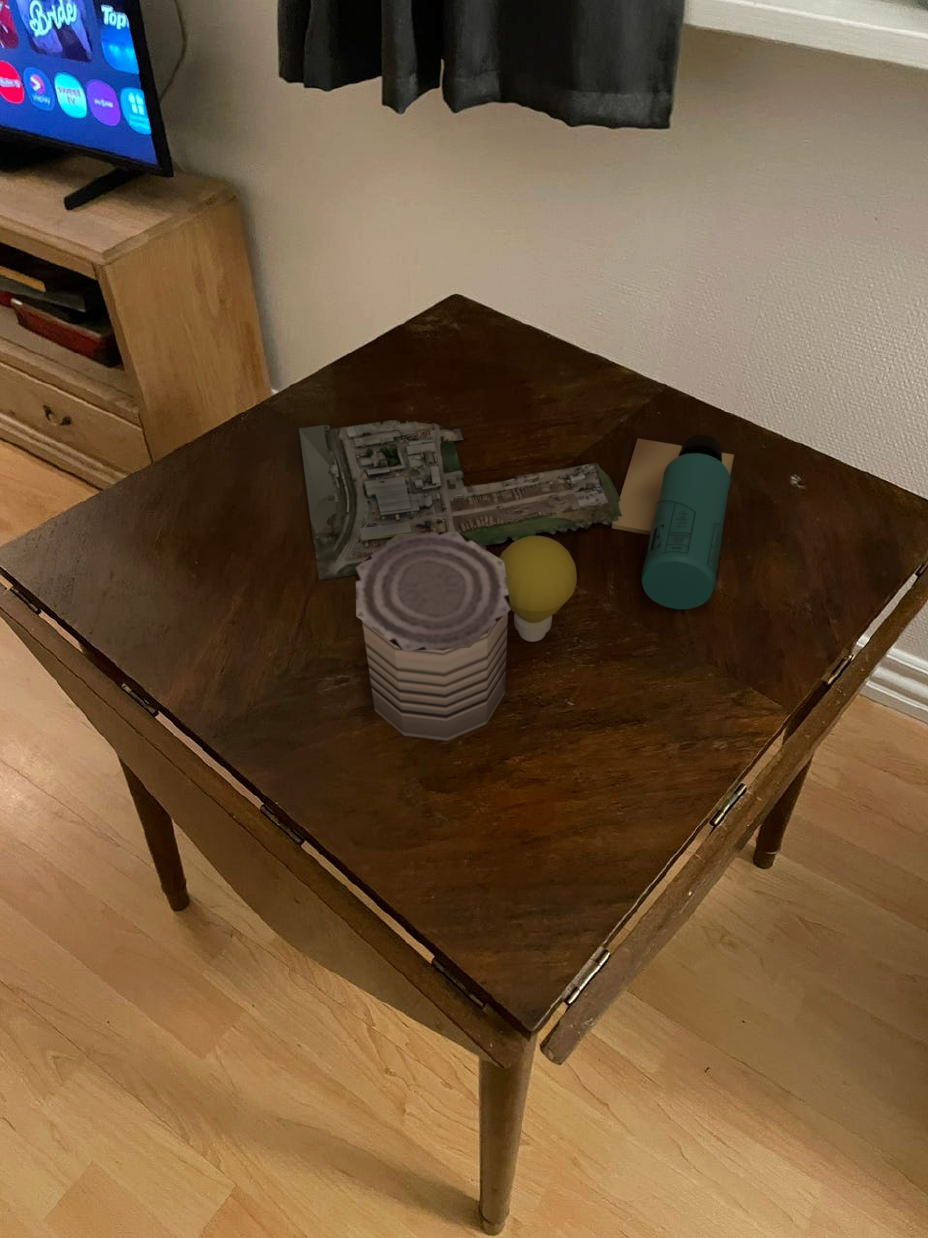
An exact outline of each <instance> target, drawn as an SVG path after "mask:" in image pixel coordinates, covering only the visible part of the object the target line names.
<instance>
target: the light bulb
mask: <svg viewBox="0 0 928 1238" xmlns="http://www.w3.org/2000/svg"><path fill="white" fill-rule="evenodd" d="M498 558H499V559H501V560H502V561H504V565H505V572H506V579H507V586H508V593H509V601H510V608H511V610H510V611H512V613H513V614H514V615H513V616H514V617H513V625H514V627H515V629H516V631H518V634H519V637H520V638H521V639H523V640H524V641H526V642H539V641H541V640H543V639H544V637H545V636H546V634H547V633H548V632H549V631H550V630H551V627H552V624H553V615H554V614H556V613H557V612H558V611H559V610H560V609H561V608H562V607H563V606H564V604H566V603H567V602H568V600H570V599H571V597H572V596H573V595H574V592H575V589H576V587H577V582H578V578H577V576H578V575H577V567H576V563H575V561H574V559H573V557H572V555H571V554H570V551H568V549H567V548H566V547H565V546H563V544H561V543H560V542H558V541H557V540H555V539H553V538H550V537H547V536H543V535H536V536H528V537H524V538H521V539H519V540H517V541H513V542H511V544H510V545H508V546H507V547H506V548H504V550H503V551H502V552H501V553H500V555H499V557H498Z"/></svg>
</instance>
